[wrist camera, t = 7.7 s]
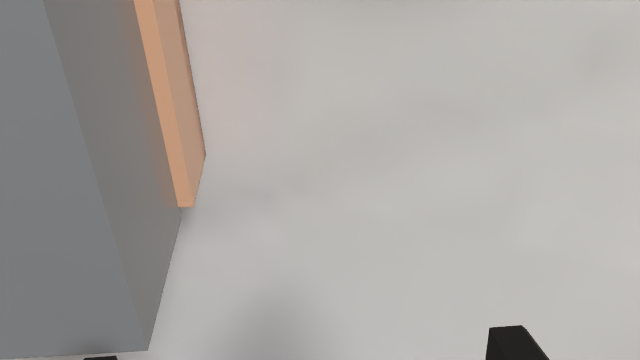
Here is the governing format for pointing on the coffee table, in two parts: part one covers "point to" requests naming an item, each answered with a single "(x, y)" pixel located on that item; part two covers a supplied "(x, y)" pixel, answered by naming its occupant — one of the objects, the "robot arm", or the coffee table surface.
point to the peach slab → (173, 93)
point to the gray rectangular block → (80, 181)
